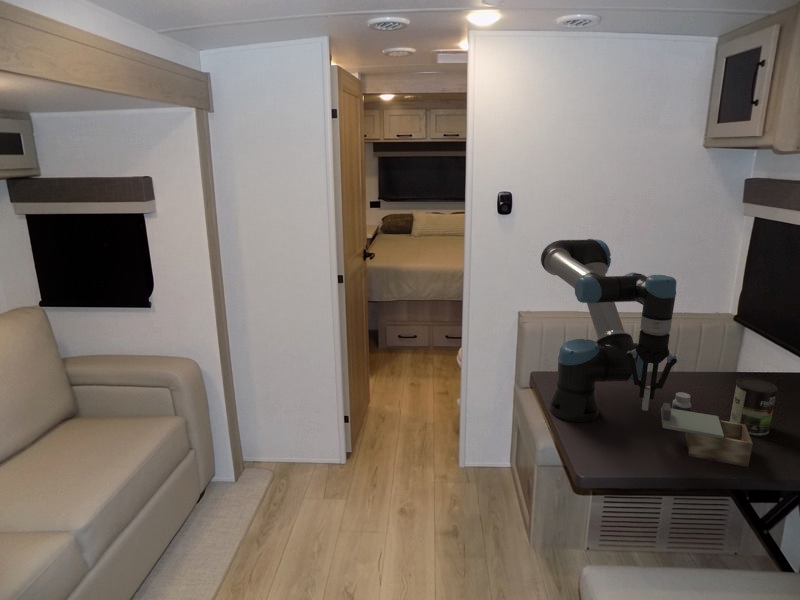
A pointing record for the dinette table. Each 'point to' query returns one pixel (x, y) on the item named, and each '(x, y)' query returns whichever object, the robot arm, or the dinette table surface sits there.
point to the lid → (691, 422)
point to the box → (722, 445)
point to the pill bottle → (682, 402)
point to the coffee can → (754, 405)
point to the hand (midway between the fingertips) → (644, 408)
